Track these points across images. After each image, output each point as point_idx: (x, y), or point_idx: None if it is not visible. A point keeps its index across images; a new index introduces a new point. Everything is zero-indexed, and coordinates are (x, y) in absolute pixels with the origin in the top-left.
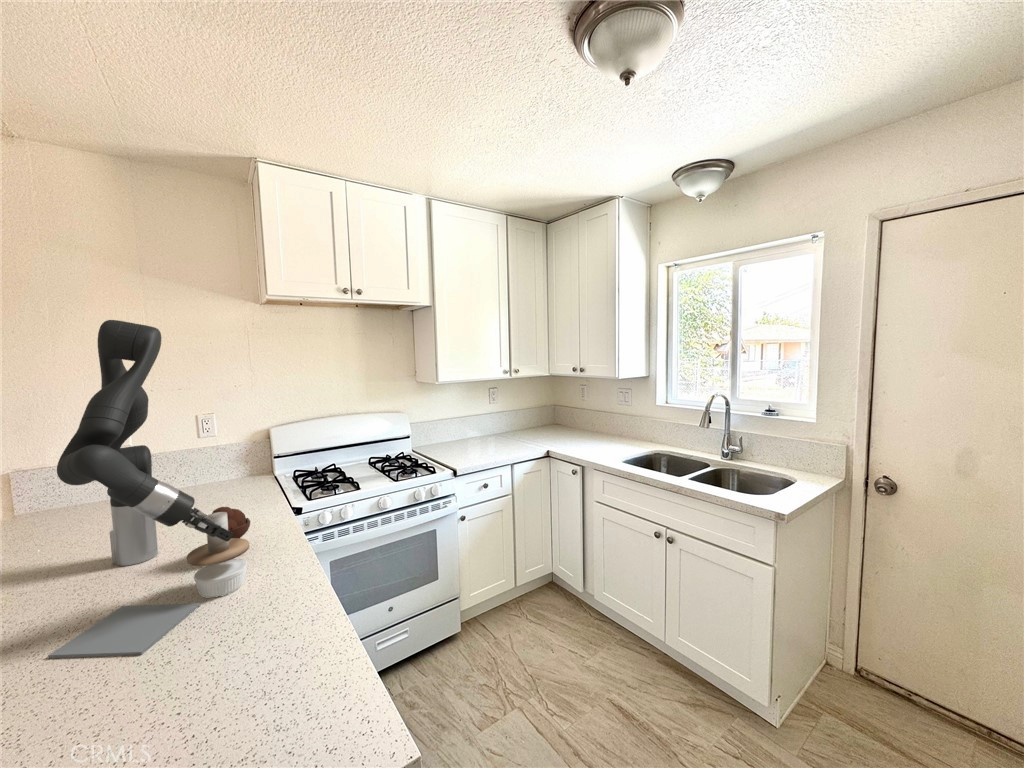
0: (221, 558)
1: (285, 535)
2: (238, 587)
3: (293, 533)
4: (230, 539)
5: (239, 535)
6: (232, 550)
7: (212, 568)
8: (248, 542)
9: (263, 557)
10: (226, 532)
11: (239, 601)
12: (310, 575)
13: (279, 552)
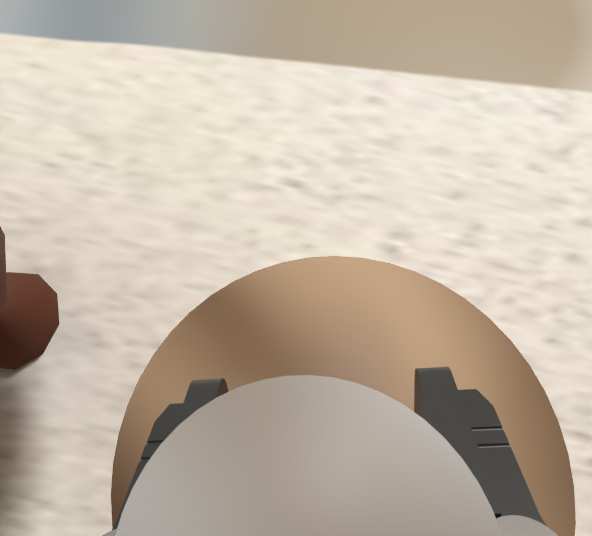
0: (551, 512)
1: (22, 76)
2: None
3: (34, 45)
4: (185, 347)
5: (4, 253)
6: None
7: None
8: (364, 262)
9: (175, 212)
10: (509, 451)
11: (578, 426)
12: (555, 114)
13: (185, 145)
